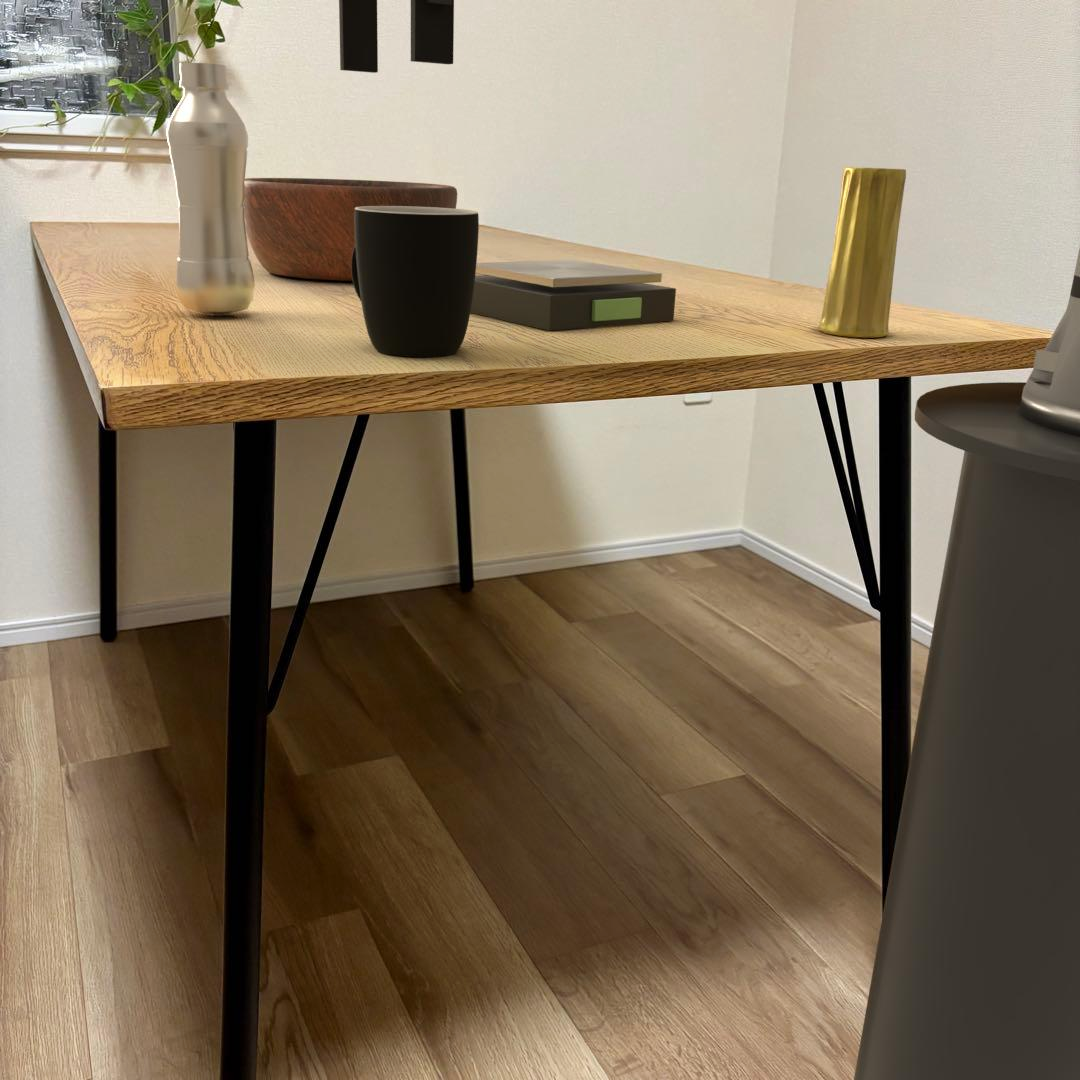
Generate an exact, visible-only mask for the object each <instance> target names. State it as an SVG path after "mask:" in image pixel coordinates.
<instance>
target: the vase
mask: <svg viewBox="0 0 1080 1080" xmlns="http://www.w3.org/2000/svg"><path fill="white" fill-rule="evenodd" d="M842 172H843V173H842V183H841V192H840V198H839V206H838V213H837V220H836V227H835V234H834V240H833V248H832V253H831V254H832V256H831V259H830V260H831V261H830V266H829V272H828V277H827V282H826V287H825V294H824V301H823V306H822V313H821V317H820V320H819V325H818V331H820V332H822V333H825V334H827V335H828V334H829V335H832V336H837V337H838V336H839V337H847V338H857V339H858V338H860V339H874V338H875V339H876V338H877V339H878V338H883V337H885V336H887V335H888V334H889V319H890V313H891V301H892V295H893V293H892V292H893V284H894V283H893V282H894V272H895V264H896V262H895V261H896V253H897V246H898V237H899V231H900V230H899V228H900V223H901V222H900V221H901V215H902V207H903V199H904V194H905V193H904V191H905V185H906V179H907V169H905V168H883V167H881V168H880V167H862V166H861V167H860V166H859V167H857V166H844V168H843V171H842Z"/></svg>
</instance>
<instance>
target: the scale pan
mask: <svg viewBox="0 0 1080 1080" xmlns="http://www.w3.org/2000/svg"><path fill="white" fill-rule="evenodd" d="M475 274H478V275H487V276H493V277H498V278H504V279H509V280H515V281H520V282H525V283H531V284H536V285H542V286H547V287H552V288H557V287H576V286H595V285H614V284H633V283H646V284H650V283H651V284H652V283H662V279H663V273H661V272H655V271H649V270H644V269H636V268H629V267H622V266H616V265H610V264H603V263H596V262H590V261H582V260H576V259H554V260H553V259H552V260H551V259H549V260H524V261H523V260H522V261H493V262H491V261H490V262H477V263H476V273H475Z"/></svg>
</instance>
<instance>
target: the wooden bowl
mask: <svg viewBox="0 0 1080 1080" xmlns="http://www.w3.org/2000/svg"><path fill="white" fill-rule="evenodd" d="M457 203H458V190H457V188H456V187H455V186H453V185H447V184H438V183H428V182H427V183H425V182H411V181H391V180H371V179H370V180H367V179H346V178H345V179H343V178H312V177H311V178H307V177H306V178H305V177H248V178H246V177H245V182H244V201H243V207H244V221H245V229H246V237H247V241H248V242H249V244H250V248H251V250H252V251H253V254H254V255H255V257H256V259H257V260H258V262H259V264H260V265H261V267H262V268H263V269H264V270H265V271H267V272H268V273H270V274H273V275H277V276H284V277H291V278H299V279H309V280H326V281H328V280H329V281H348V282H349V281H350V282H351V281H352V282H353V280H352V274H351V259H352V253H353V249H354V247H355V231H354V211H355V208H356V207H363V206H413V207H437V208H452V209H457Z"/></svg>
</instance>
